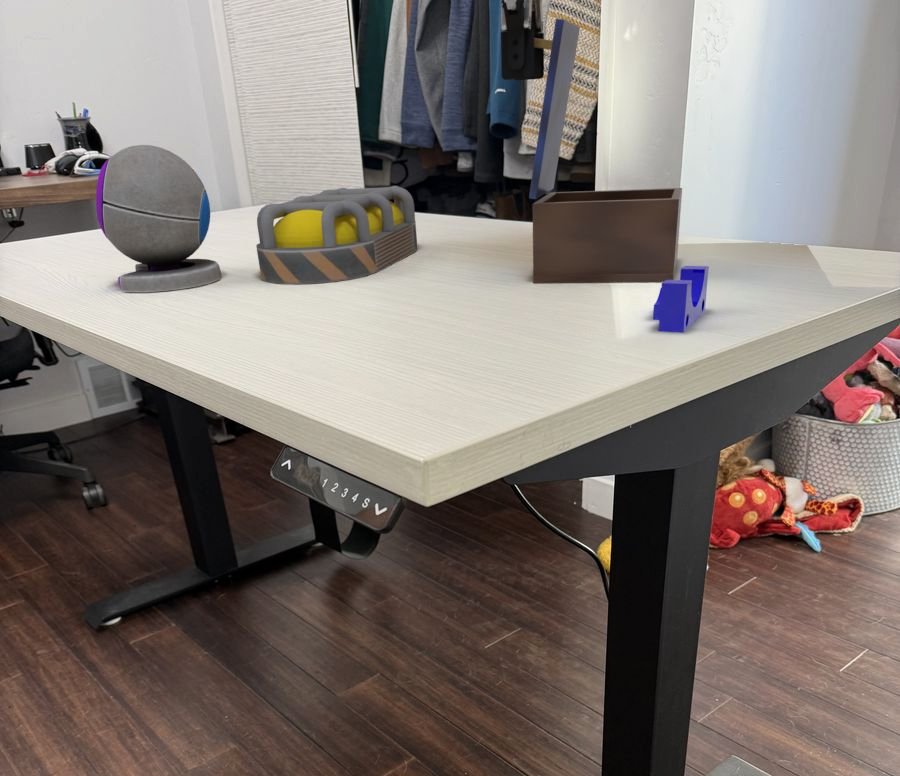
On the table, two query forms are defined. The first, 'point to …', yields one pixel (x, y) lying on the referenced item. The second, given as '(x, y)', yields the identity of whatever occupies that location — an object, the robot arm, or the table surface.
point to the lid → (554, 104)
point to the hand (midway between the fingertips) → (523, 76)
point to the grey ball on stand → (155, 218)
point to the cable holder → (682, 300)
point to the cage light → (335, 235)
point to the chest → (606, 236)
